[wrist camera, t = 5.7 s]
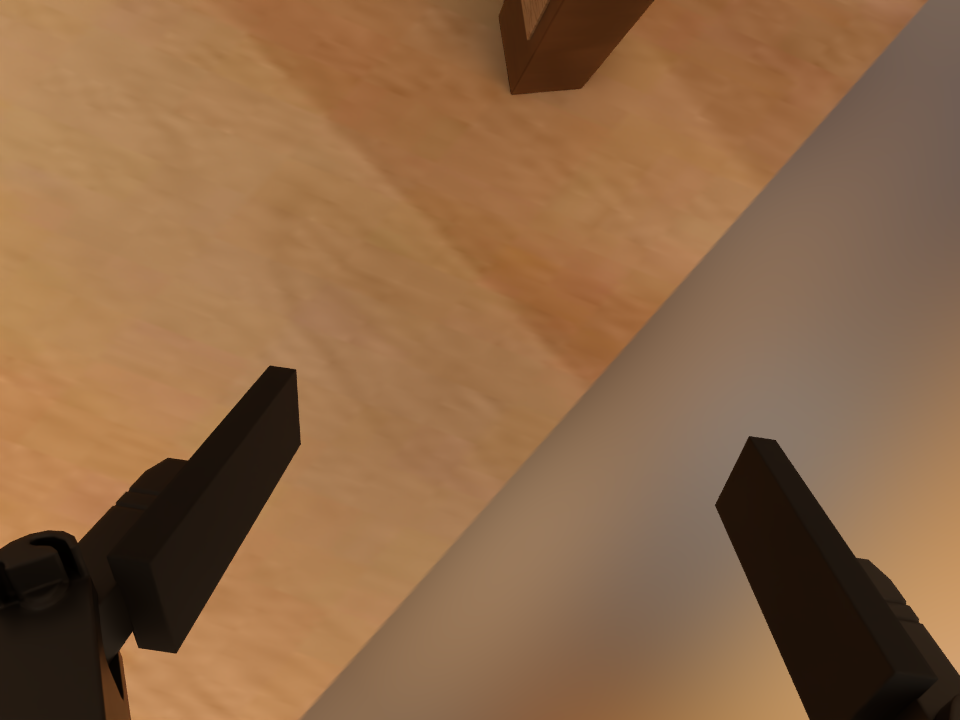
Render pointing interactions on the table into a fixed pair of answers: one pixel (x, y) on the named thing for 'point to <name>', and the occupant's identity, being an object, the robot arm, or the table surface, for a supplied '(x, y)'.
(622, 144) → the table surface
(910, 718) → the robot arm
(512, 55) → the line block
